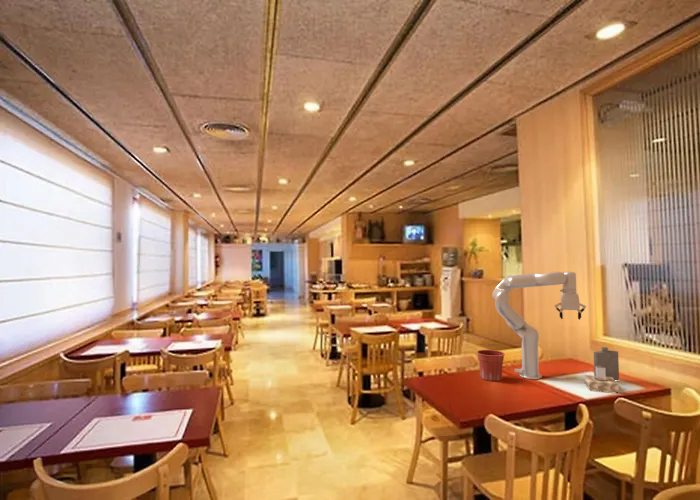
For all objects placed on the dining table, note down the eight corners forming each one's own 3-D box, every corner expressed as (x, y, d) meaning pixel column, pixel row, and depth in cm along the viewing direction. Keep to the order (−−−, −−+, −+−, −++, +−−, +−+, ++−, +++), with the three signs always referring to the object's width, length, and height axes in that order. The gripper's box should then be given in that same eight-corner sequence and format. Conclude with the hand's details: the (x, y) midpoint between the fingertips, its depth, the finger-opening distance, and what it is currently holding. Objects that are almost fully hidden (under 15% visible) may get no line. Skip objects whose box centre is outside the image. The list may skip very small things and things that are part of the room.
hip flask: (597, 382, 235) (596, 348, 236) (592, 380, 239) (591, 347, 240) (620, 380, 238) (619, 347, 239) (614, 379, 242) (613, 346, 243)
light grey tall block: (597, 387, 224) (597, 367, 224) (596, 385, 228) (595, 365, 228) (606, 387, 223) (605, 368, 223) (604, 385, 226) (603, 366, 227)
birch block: (589, 390, 221) (589, 381, 221) (584, 383, 234) (584, 374, 234) (619, 393, 216) (618, 384, 216) (612, 385, 229) (612, 377, 229)
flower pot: (501, 375, 254) (500, 349, 254) (508, 382, 237) (508, 355, 238) (474, 374, 255) (474, 349, 256) (480, 382, 239) (480, 355, 239)
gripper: (554, 291, 247) (555, 319, 247) (586, 292, 241) (587, 320, 241) (553, 290, 254) (554, 317, 254) (584, 291, 248) (585, 318, 248)
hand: (570, 318), depth 247 cm, fingers open, 9 cm apart
